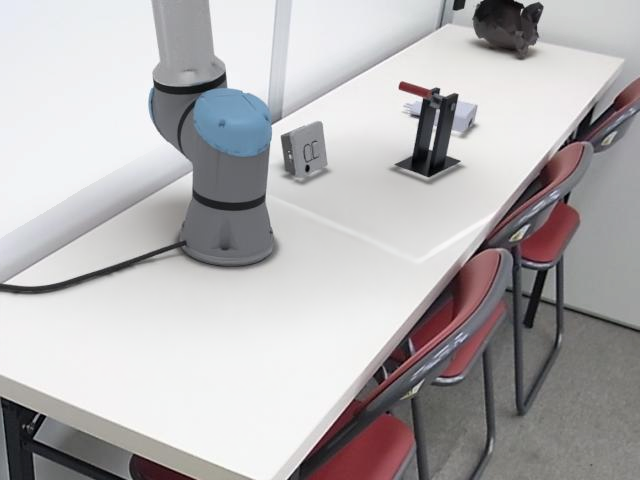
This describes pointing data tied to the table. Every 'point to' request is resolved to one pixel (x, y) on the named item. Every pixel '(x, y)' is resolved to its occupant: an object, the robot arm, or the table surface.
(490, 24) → the dark grey rounded piece
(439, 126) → the bracket
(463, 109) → the charger
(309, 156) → the electrical switch
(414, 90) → the lever
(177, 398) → the table surface
